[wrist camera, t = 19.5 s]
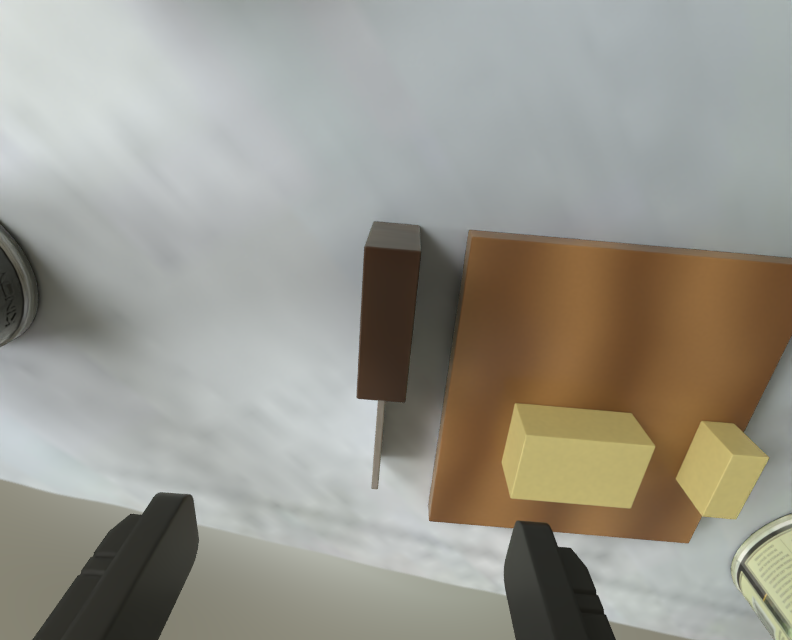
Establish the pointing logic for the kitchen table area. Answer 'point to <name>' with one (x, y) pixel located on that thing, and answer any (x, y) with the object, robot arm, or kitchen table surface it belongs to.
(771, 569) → the coffee can
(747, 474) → the butter slice
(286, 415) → the kitchen table surface
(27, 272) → the robot arm
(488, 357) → the board
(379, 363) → the knife
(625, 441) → the butter
